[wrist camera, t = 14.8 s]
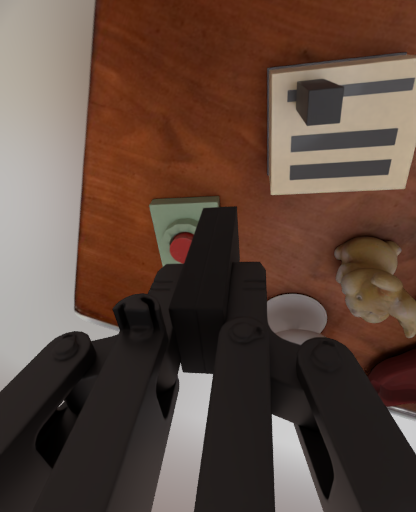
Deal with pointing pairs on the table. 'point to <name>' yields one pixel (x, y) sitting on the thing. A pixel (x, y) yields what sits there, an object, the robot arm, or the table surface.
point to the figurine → (374, 282)
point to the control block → (177, 220)
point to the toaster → (344, 127)
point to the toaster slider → (319, 101)
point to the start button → (181, 246)
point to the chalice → (296, 317)
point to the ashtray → (396, 379)
